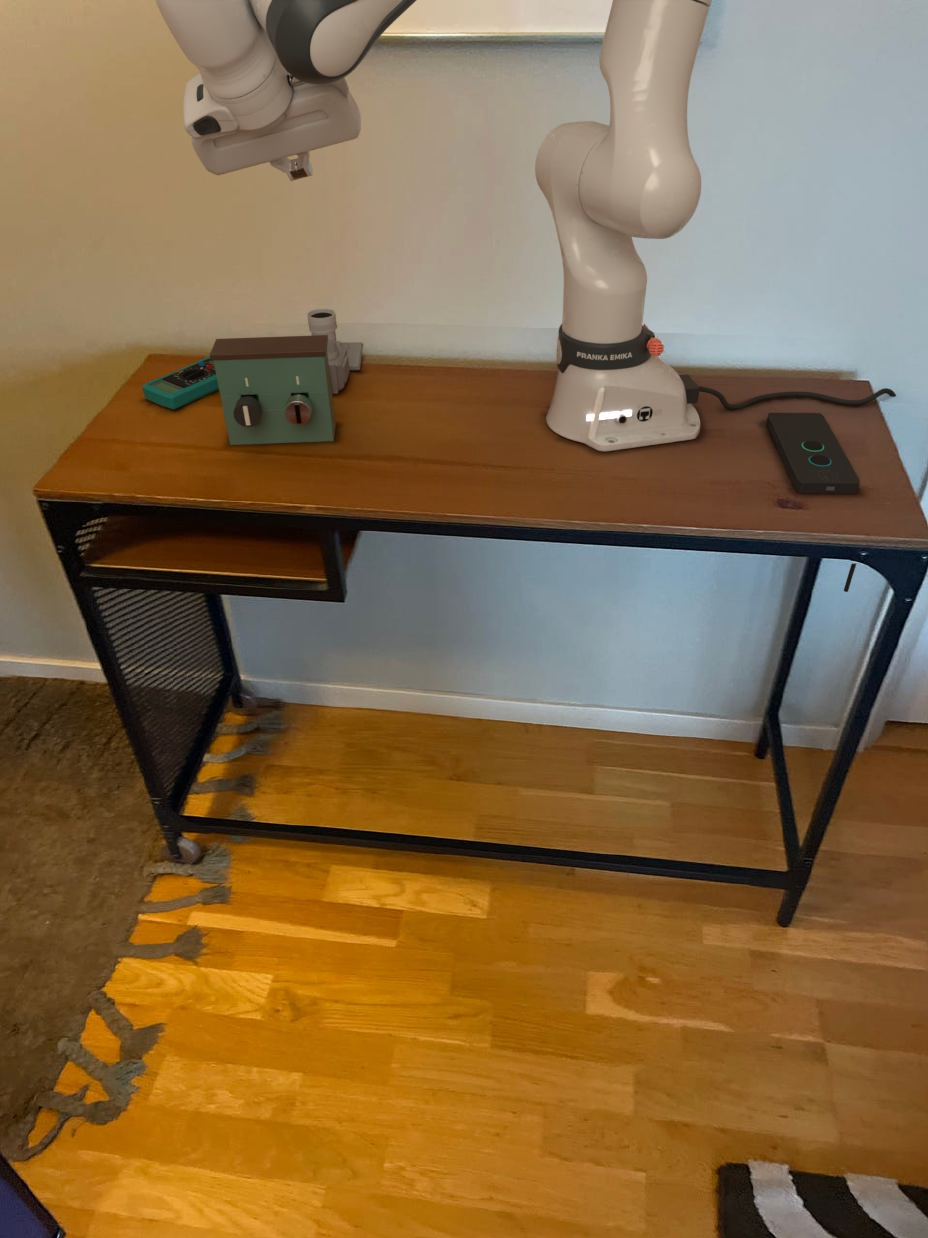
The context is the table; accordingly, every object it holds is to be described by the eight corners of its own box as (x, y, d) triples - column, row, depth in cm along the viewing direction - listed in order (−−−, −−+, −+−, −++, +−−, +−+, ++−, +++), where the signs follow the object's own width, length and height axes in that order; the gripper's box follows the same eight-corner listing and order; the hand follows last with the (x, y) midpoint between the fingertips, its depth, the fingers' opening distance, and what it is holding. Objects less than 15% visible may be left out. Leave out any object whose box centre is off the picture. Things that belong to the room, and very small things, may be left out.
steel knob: (312, 425, 126) (309, 401, 124) (286, 426, 126) (282, 402, 124) (315, 407, 130) (312, 383, 128) (290, 408, 130) (286, 384, 128)
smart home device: (798, 482, 118) (765, 411, 134) (795, 493, 119) (763, 422, 135) (863, 482, 118) (823, 411, 133) (859, 494, 119) (820, 422, 134)
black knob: (261, 427, 126) (257, 403, 124) (235, 428, 126) (231, 404, 123) (266, 409, 130) (262, 385, 128) (241, 410, 130) (236, 386, 128)
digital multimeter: (246, 379, 149) (242, 362, 147) (173, 413, 140) (169, 395, 138) (216, 368, 153) (212, 351, 151) (143, 400, 144) (138, 383, 142)
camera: (289, 321, 137) (305, 288, 149) (299, 394, 144) (313, 357, 156) (346, 320, 137) (358, 287, 149) (354, 394, 144) (364, 357, 156)
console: (335, 442, 132) (325, 350, 123) (227, 446, 132) (209, 354, 123) (338, 424, 136) (327, 334, 128) (233, 428, 136) (215, 338, 127)
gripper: (336, 40, 102) (377, 133, 115) (172, 88, 106) (230, 172, 119) (338, 84, 100) (380, 174, 113) (171, 131, 105) (230, 212, 117)
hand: (302, 174), depth 116 cm, fingers closed
